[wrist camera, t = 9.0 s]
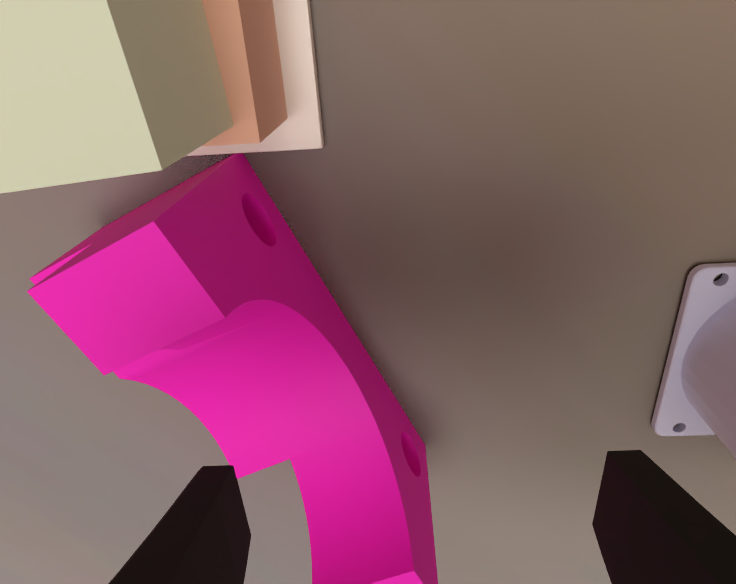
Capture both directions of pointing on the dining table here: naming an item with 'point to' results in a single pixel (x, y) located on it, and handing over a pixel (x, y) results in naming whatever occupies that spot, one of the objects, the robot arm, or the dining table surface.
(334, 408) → the toy block
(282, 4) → the baseplate
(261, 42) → the terracotta brick
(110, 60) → the sage brick
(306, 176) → the dining table surface
